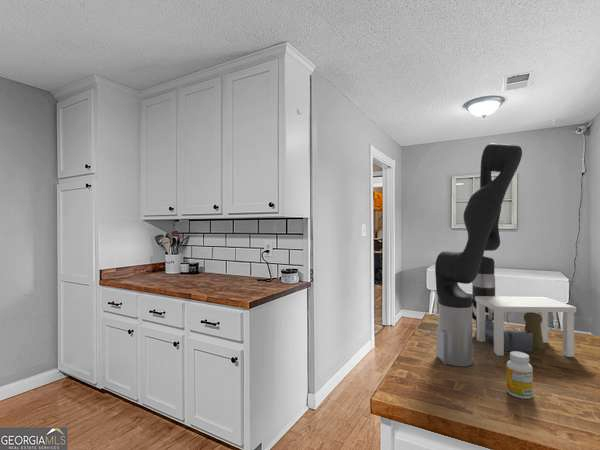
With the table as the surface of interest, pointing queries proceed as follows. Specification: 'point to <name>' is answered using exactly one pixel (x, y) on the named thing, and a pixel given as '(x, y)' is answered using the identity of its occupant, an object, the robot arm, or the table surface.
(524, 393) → the supplement bottle
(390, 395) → the table surface
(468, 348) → the robot arm
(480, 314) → the low table
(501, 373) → the table surface
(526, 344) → the steel crook
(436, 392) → the table surface
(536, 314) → the cork
